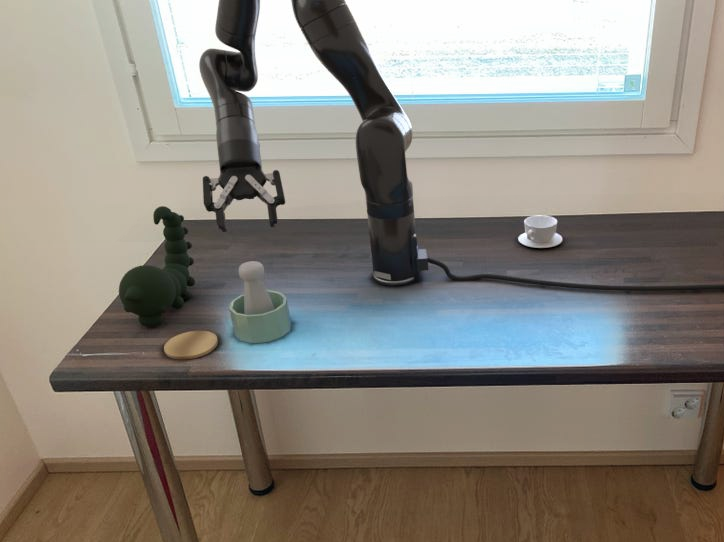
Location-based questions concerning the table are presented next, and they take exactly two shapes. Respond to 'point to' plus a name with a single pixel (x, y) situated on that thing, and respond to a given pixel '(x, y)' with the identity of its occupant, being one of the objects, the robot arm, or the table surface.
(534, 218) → the teacup
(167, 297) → the toy figurine
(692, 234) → the table surface
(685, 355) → the table surface
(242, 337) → the cup
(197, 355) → the coaster
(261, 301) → the salt shaker
